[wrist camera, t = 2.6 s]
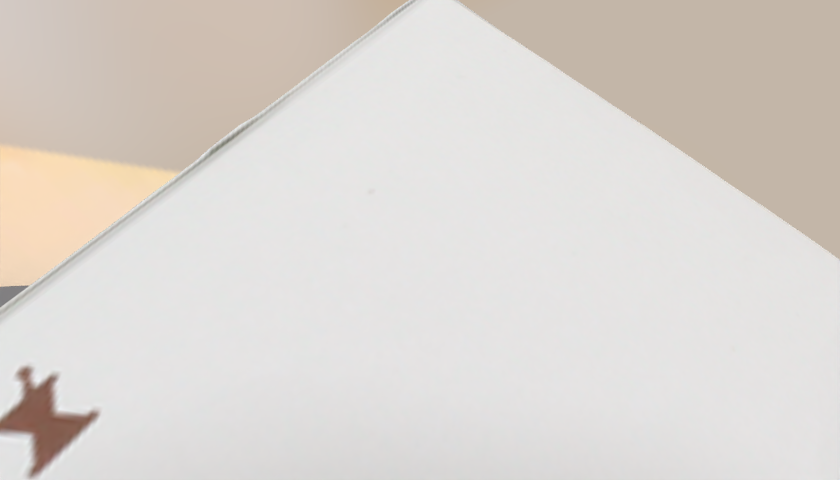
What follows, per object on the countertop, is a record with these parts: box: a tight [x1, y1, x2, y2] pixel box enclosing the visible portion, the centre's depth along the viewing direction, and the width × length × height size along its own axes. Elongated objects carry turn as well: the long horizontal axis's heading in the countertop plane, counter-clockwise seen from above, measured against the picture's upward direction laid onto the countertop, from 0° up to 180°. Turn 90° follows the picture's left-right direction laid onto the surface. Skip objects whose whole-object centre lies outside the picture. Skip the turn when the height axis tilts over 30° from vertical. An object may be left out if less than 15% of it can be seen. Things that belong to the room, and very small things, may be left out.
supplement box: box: [0, 0, 840, 480], centre depth 9 cm, size 7×7×13 cm
